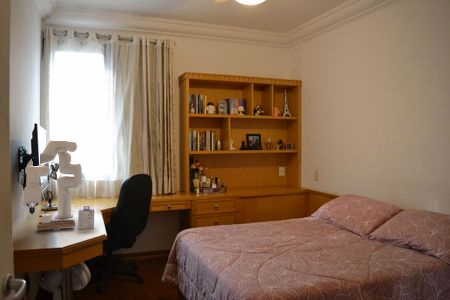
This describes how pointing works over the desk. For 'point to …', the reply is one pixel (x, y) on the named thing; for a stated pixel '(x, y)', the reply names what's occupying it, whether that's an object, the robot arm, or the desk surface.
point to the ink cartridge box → (86, 218)
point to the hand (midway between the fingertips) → (31, 213)
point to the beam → (56, 224)
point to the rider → (46, 218)
